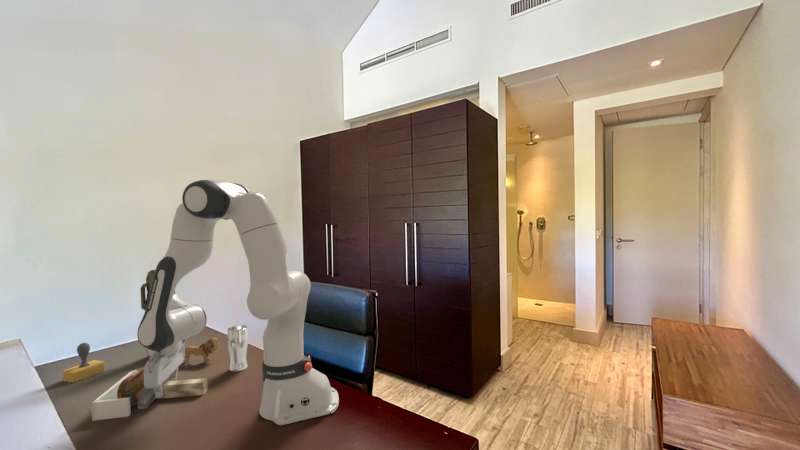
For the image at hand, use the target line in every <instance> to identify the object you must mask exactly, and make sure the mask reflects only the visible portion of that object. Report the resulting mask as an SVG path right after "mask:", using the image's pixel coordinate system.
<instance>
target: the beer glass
mask: <svg viewBox="0 0 800 450" xmlns="http://www.w3.org/2000/svg"><path fill="white" fill-rule="evenodd" d="M226 332H227V333H226V334H227V336H226V340H227V341H226V346H227V348H228V350H227V351H228V353H229V357H230V358H229V359H230V360H229V361H230V365H229V371H230V372H234V373H235V372H241V371H245V370H246V369H247V368H248V366H249V365H248V361H247V351H248V345H249V343H248V342H249V334H248V326H247V325H245V324H244V325H242V324H241V325H240V324H239V325H233V326H230V327H228V328H227V331H226Z"/></svg>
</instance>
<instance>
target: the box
mask: <svg viewBox="0 0 800 450" xmlns="http://www.w3.org/2000/svg"><path fill="white" fill-rule="evenodd" d="M137 370H138V369H135V370H130V371H129V372H127V374H126V375H125V376H123V377H121V378H120V380H118V381H117V382H116V383H115V384H113V385H112V386H110V388H108V389H107V390H106V391H105V392H103V393H102V394H101V395H100V396H98V397H97V398H96V399H95V400H93V401H92V402H91V405H90V407H91V421H102V420H109V419H110V420H111V419H118V418H128V417H130V416H131V415H132V414H131V412H132V411H131V407H130V397H128V398H117V391H118V388H119V385H120V384H121V382H122V381H123V380H124V379H126V378H127V377H129V376H130V375H131V374H133V373H134V372H136V371H137Z"/></svg>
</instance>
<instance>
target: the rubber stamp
mask: <svg viewBox="0 0 800 450" xmlns="http://www.w3.org/2000/svg"><path fill="white" fill-rule="evenodd" d="M90 351H91V346H90V344H89V343H87V342H82V343H80V344H78V346H77V348H76V352H77V355H78V357H80V360H81V363H80V364H78V365H76V366H73V367H69V368H67V369H64V370H63V371H62V378H63V380H65V381H69V382H68V383H70V382H75V383H77V382H80V381H83V380H86V379H88V378H90V377H94V376H96V375H98V374H101V373H103V372H106V362H105V361H103V360H97V359H93V360H90V361H87V358H88V356H89V352H90ZM82 379H83V380H82ZM63 380H62V381H63ZM79 380H80V381H79ZM65 381H64V382H65ZM76 381H77V382H76Z"/></svg>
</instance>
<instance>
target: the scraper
mask: <svg viewBox="0 0 800 450" xmlns="http://www.w3.org/2000/svg"><path fill="white" fill-rule="evenodd" d="M169 377H170V376H169ZM169 377H168V378H167V379H166V380H165V381H164V382H163V383H162V389H164V395H163V396H162V397H160V398H156V397H155V392H154V390H153V389H146V388H145V387H143V388H142V389H141V390H140V391H139V392H138V393H137V397H138V403H137V409H138V410H143V409H147V408H148V407H149V406H150V405H151V404H152V403H153V402H154V401H155V400H157V399H172V398H179V397H180V398H181V397H182V398H183V397H192V396H204V395H205V394H206V393H207V392H208V389H209V387H208V378H207V377H205V378H204V377H203V378H192V379H181V380H179V379H178V380H176V381H169Z"/></svg>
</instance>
